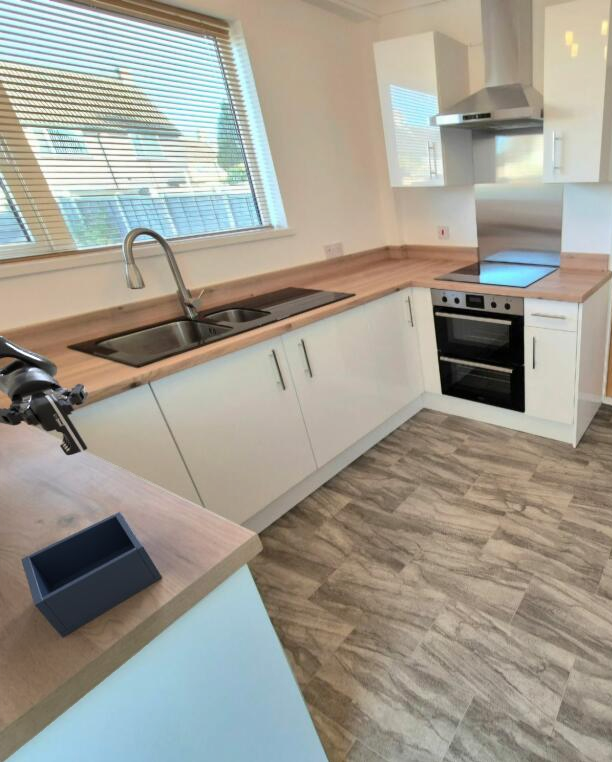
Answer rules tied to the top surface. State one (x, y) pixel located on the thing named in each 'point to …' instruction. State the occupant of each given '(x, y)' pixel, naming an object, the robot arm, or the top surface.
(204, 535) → the top surface
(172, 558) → the top surface
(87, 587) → the bin
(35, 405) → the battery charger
